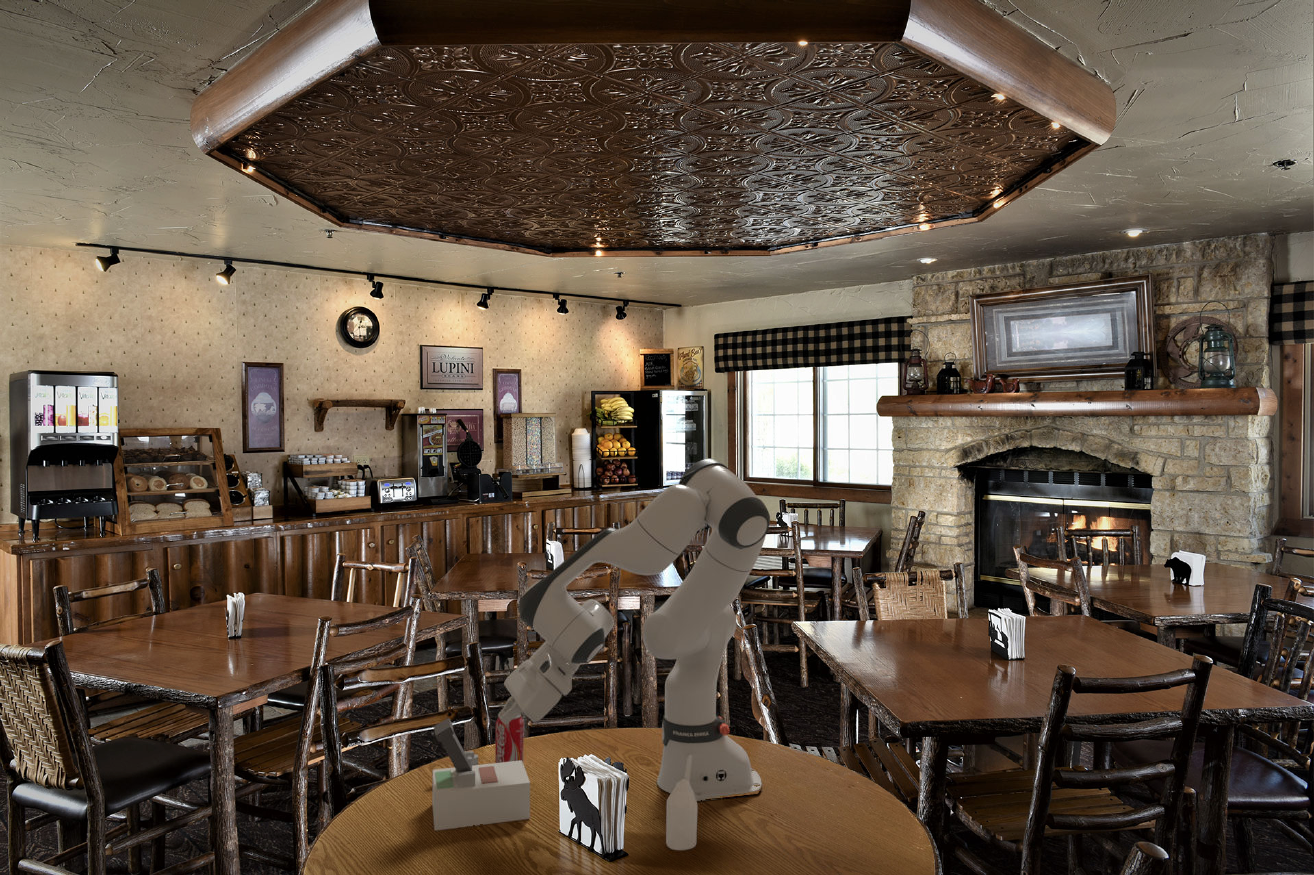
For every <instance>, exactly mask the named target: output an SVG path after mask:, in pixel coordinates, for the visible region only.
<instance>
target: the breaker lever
mask: <svg viewBox="0 0 1314 875" xmlns="http://www.w3.org/2000/svg"><path fill="white" fill-rule="evenodd" d="M433 730H434V736H435V738H436V741H438V743H441V744H442V746H443V748H444V750H445V751H446V754H447V756H448V757H449V759H450V761H451V763H452V765H453V768H454V767H455V769H456V771H457V772H467V771H472V769H471V764H470V761H469V759H468V758H467V756H466V754H465V752H464V751H465V750H464V749H463V746H462V745H461V743H460V741H459V739H458V737H457V735H456V733H455V730H454V725H453V723H452V721H451V719H450V717H448V718H446V719H444V720H443V721H440V722H439V723H437V724H436V725H433Z"/></svg>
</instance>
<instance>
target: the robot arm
mask: <svg viewBox="0 0 1314 875" xmlns="http://www.w3.org/2000/svg"><path fill="white" fill-rule="evenodd" d="M770 523H771V515H770V512H769V510H768V507H766V504H765V503H764V502H763V501H762V499H760V498H759V497H758V496H757V495H756V493H755V492H754V491H753V490H752V488H751V487H750V486H749V485H748V484H747V483H746V482H745V481H744V480H742V479H741V478H740V477H738V476H737V475H736V474H735V473H733V472H732V471H731V470H730V469H729V467H728V466H727V465H725V464H724V463H722V462H720V461H718V460H716V459H713V458H705V459H702V460H699V461H697V462H696V463H693V464H692V465H691V466H690V467H688V469H687V470H686V471H685V473H684V474H683V475H682V477H681V478H680V480H679V482H678V484H672V485H670V486H669V487H667V488H665V489H664V490H663V491H662V492H660V493H659V494H658V495H657V496H656V497H655V498H654V499H653V500H651V501H650V502H649V504H647V506H645V508H644V509H643V510H642V511H641V512H640V513H639V515H637V517H635V519H634V520H632V522H630V523H629V524H627V525H626V526H624V527H621V528H613V527H609V528H606V529H604V530H602V531H601V532H599V533H597V534H596V535H595V536H593V537H592V538H591V539H590V540H588V541H587V542H586V543H584V544H583V545H581V547H579V548H578V549H577V550H576V551H575V552H573V553H571V555H570V556H568V557H567V559H565V560H564V561H562V562H561V563H560V564H559V565H558V566H556V567H555V568H554V569H553V570H552V571H551V572H549V573H548V574H547V575H546V576H545V577H543V578H542V579H540V580H538V581H537V582H535V583H533V584H532V585H531V586H529V587H528V588H527V589H526V590H525V591H524V592H523V594H522V595H521V597H520V599H519V600H518V612H519V618H520V620H521V621H522V622H523V623H524V624H526V625H527V626H529V628H530V629H532V630H533V631H535V632H536V633H537V634H538V635H539V636H540V637H541V638H542V639H543V640H545V642H543V643H542V645H540V646H539V648H537V650H536V651H535V652H534V653H533V654H532V655H531V656H530V657H529V659H526V660H523V662H522V663H521V664H520V665H519V666H517V667H516V668H515V669H514V670H513V671H512V672H511V673H510V674H509V675H508V676H507V677H506V679H505V680H504V683H503V685H504V687H505V688H506V689H507V691H508V692H509V694H510V695H511V696H510V697H509V698H508V699H507V701H506V702H505V704H504V706H503V708H502V709H501V710H500V711H499V713H498V714H497V718H498V717H499V718H500V720H501V721H502V722H503V723H504V724H505V725H506V724H508V723H509V722H510V721H511V720H512V719H513V718H515V717H516V716H518V715H520V714H522V713H524V715H526V717H528V719H530V720H531V721H532V722H534V723H536V722H539V721H540V720H542V719H543V718H544V717H545V716H546V715H547V714H548V713H549V712H550V711H551V710H552V709H553V708H554V707H555V706H556V705H557V704H558V703H559V701H560V700H561V698H562V695H563V696H567V695H568V694H569V693H570V692H571V691H572V689H573V685H572V684H573V682H572V681H573V680H572V679H573V675H575V673H576V672H577V670H578V669H579V667H580V666H581V665H585V664H586V665H588V664H590V663H591V661H592V660H593V659H594V658H595V657H596V656H597V655H598V653H600V652H601V650H602V649H603V648H604V647H605V646H606V638H607V636H608V635H609V634H610V632H611V630H612V629H613V628H614V625H615V618H614V616H613V615H612V614H611V611H609V610H608V608H606V606H604V605H603V604H602V603H601V602H600V601H597V600H595V599H592V598H590V599H588V600H586V601H585V602H584V603H582V604H580V603H579V602H578V601H577V600H576V599H575V598H574V597H572V596H571V594H569V592H568V591H567V587H568V585H570V584H571V583H572V582H573V581H574V580H576V579H578V577H579V576H581V575H582V574H583V573H584V572H585V571H586V570H588V569H589V568H590V567H591V566H593V565H594V564H596V563H603V564H609V565H611V566H614V567H617V568H619V569H622V570H624V571H625V572H630V573H632V574H635V575H640V576H641V575H642V576H653V575H654V576H655V575H658V574H660V573H663V572H664V571H665V570H666V569H667V568H668V567H670V565H672V563H673V562H674V561H676V560H677V558H679V556H680V555H681V554H682V553H683V551H684V550H685V549H686V548H687V546H688V545H689V544H690V542H692V539H693V538H694V537H695V535H696V533H697V532H698V531H700V530H701V529H703V528H706V527H707V525H708V526H709V527H710V528H711V529H712V531H711V533H710V535H709V536H708V538H707V540H706V542H705V544H704V546H703V548H702V550H701V552H700V553H699V555H698V557H697V559H696V561H695V563H694V564H693V566H692V568H691V569H690V572H689V573H688V575H686V577H685V579H684V580H683V581H682V582H681V583H680V585H679V586H678V587H677V588H676V589H675V590H674V592H673V593H672V594H671V595H670V596H669V597H668V599H666V601H665V602H664V603H663V604H662V605H661V606H660V607H659V608H658V609H657V610H655V611H654V612H653V613H651V614H650V615H649V616H648V617H647V618H646V619H645V620H644V622H643V625H642V630H641V632H642V633H641V635H642V636H641V637H642V642H643V644H644V647H645V648H646V650H647V651H648V653H649V654H650V655H651V656H652V657H654V658H655V659H659V660H675V664H673V665H674V666H673V668H672V669H671V671H670V672H669V674H668V675H667V677H666V679H665V682H664V683H665V684H664V715H663V717H662V724H661V725H662V726H661V735H662V736H661V737H662V738H661V741H662V744H663V751H662V757H661V764H660V768H659V773H658V777H657V780H656V784H657V785H658V787H659V788H660V789H661V790H663V791H665V792H667V793H669V794H671V793H672V791H673V790H674V788H675V786H676V784H677V782H679V781H681V780H682V779H685V780H688V781H689V782H690V786H691V788H692V790H693V792H694V795H695V798H696V801H697V802H699V801H700V802H701V800H702V801H706V800H705V799H708V798H716V797H720V796H729V795H733V794H743V793H748V792H755V791H757V790H759V789H760V788H761V785H762V786H763V784H762V783H763V782H761V781H762V779H761V776H760V774H759V773H758V772H757V771H756V770H755V769H754V768H752V765H751V762H750V758H749V755H748V753H747V752H746V751H745V749H744V748H743V747H742V746H741V745H740V744H739V743H737V742H736V741H734V740H733V739H732V738H730V737H729V736H728V735H729V734H730V731H731V730H730V728H729V725H728V724H727V723H726V721H725V720H724V719H723V718H722V717H721V716H720V715H719V716H718V715H717V683H718V677H719V672H720V669H721V664H722V661H723V658H724V653H725V651H726V648H727V646H728V644H729V642H730V640H731V639H732V637H733V636H734V634H735V632H736V630H737V625H738V624H737V617H736V613H735V611H734V610H733V607H731V604H732V603H733V602H734V601H735V600H736V599H737V597H738V596H739V594H740V592H741V590H742V588H743V587H744V585H745V583H746V582H747V579H748V577H749V575H750V574H751V572H752V570H753V568H754V567H755V564H756V563H757V560H758V558H759V556H760V554H761V551H762V548H763V546H764V543H765V540H766V536H767V532H768V530H769V528H770ZM751 770H754V771H751ZM754 785H760V786H757V787H756V786H754Z"/></svg>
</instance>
